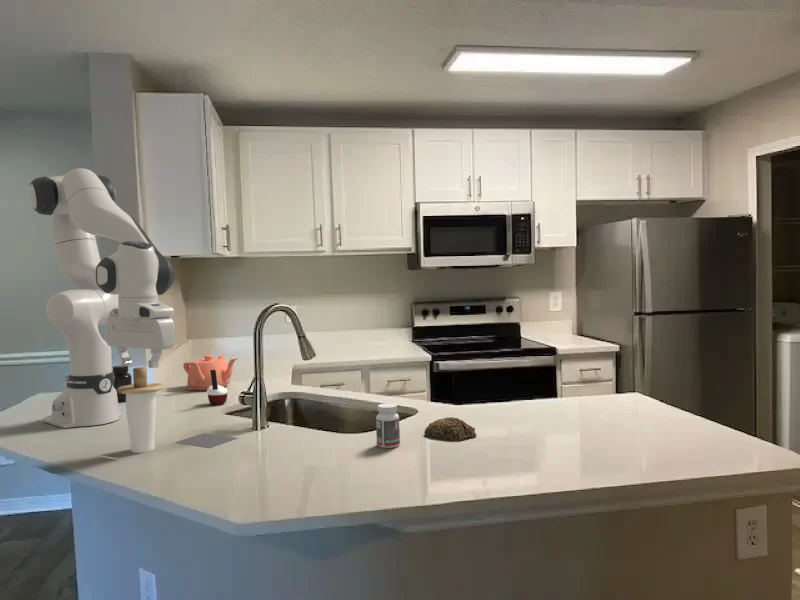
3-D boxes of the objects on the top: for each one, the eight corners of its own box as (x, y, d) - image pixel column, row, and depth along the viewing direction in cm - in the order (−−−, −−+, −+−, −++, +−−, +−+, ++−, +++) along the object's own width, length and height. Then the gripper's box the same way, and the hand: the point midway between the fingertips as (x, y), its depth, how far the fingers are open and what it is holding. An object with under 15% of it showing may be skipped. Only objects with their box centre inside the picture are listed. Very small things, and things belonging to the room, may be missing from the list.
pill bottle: (403, 443, 154) (402, 403, 154) (395, 449, 149) (394, 408, 148) (381, 441, 156) (380, 402, 156) (373, 447, 151) (372, 407, 150)
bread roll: (418, 436, 162) (417, 417, 161) (447, 427, 171) (447, 409, 170) (457, 445, 153) (456, 425, 153) (486, 435, 162) (486, 416, 162)
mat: (174, 444, 157) (174, 442, 157) (203, 434, 166) (203, 433, 166) (210, 449, 151) (210, 447, 151) (238, 439, 160) (238, 437, 160)
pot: (240, 389, 232) (239, 355, 232) (192, 394, 223) (192, 359, 222) (224, 382, 248) (223, 351, 247) (179, 387, 238) (178, 354, 238)
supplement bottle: (118, 398, 217) (116, 364, 216) (136, 399, 216) (135, 364, 215) (106, 402, 210) (105, 367, 209) (125, 403, 209) (123, 367, 208)
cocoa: (217, 402, 210) (216, 366, 210) (233, 402, 208) (232, 366, 208) (199, 407, 201) (198, 369, 201) (216, 407, 199) (215, 369, 199)
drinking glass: (147, 456, 147) (144, 393, 146) (121, 454, 148) (119, 392, 147) (163, 448, 153) (161, 387, 153) (138, 446, 155) (136, 387, 154)
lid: (108, 392, 148) (107, 369, 148) (143, 385, 157) (143, 364, 157) (137, 395, 143) (136, 372, 143) (171, 388, 152) (170, 366, 152)
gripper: (98, 308, 151) (99, 365, 152) (157, 311, 142) (158, 371, 142) (120, 307, 157) (121, 361, 157) (178, 309, 147) (180, 367, 148)
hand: (139, 366), depth 150 cm, fingers open, 8 cm apart
